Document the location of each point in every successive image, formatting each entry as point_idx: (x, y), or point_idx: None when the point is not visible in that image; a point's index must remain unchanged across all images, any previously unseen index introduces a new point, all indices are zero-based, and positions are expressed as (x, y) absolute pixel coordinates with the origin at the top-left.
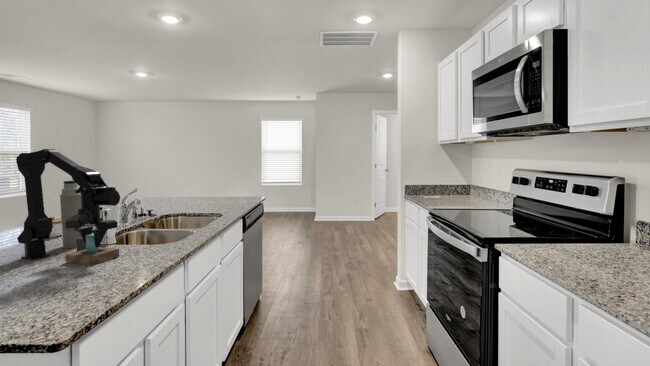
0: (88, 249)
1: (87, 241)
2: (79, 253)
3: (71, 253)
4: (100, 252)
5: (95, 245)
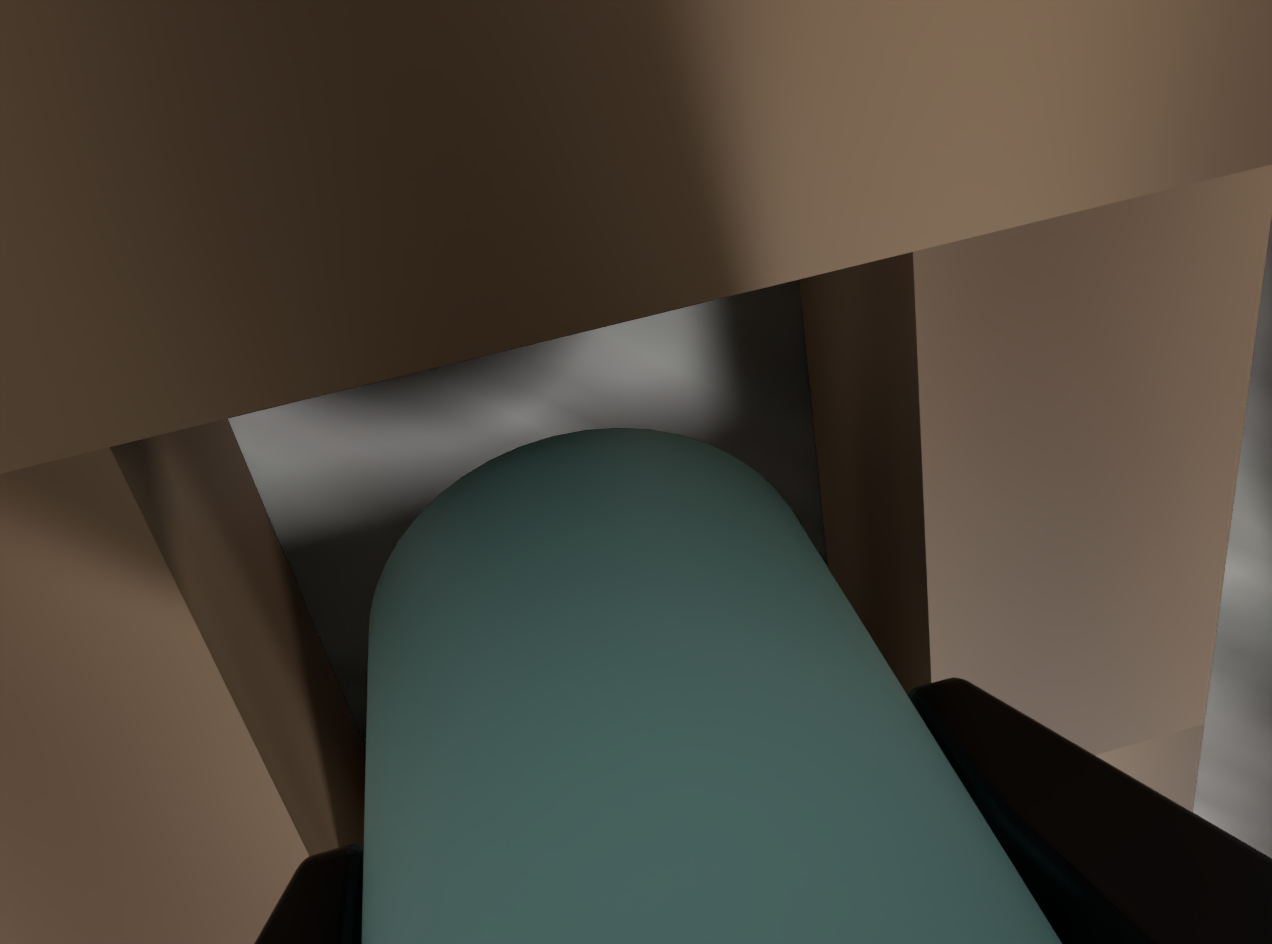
0: (554, 556)
1: (690, 907)
2: (849, 208)
3: (1226, 15)
4: (148, 747)
5: (323, 920)
